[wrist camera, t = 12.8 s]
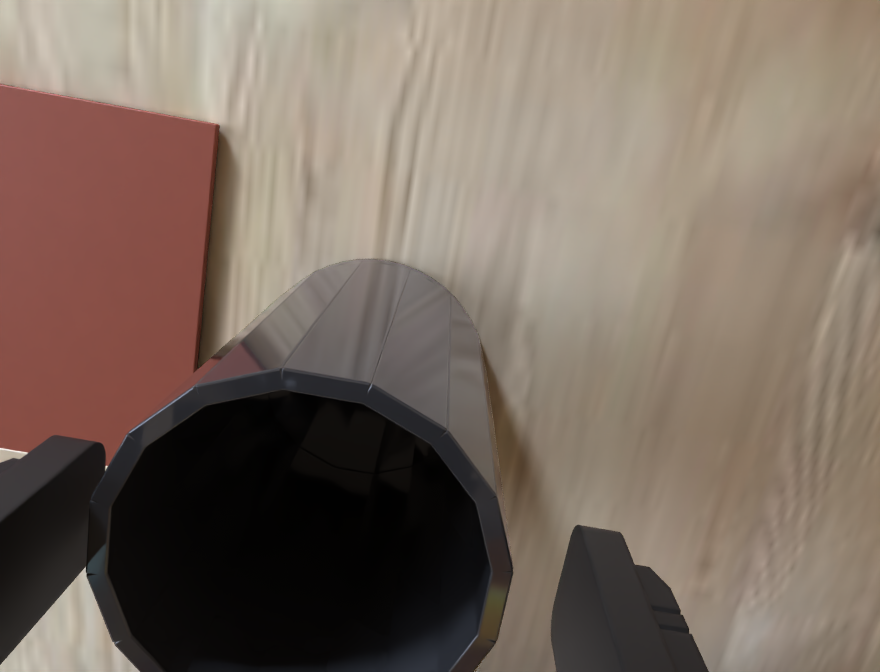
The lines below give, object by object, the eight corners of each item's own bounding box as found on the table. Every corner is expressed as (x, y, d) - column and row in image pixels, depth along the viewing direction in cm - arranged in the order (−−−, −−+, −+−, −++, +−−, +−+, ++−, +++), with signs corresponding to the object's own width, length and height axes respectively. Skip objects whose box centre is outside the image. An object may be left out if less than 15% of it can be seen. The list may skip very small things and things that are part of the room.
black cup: (504, 281, 20) (551, 415, 10) (461, 490, 22) (467, 773, 12) (272, 239, 20) (96, 335, 10) (247, 453, 21) (77, 710, 12)
